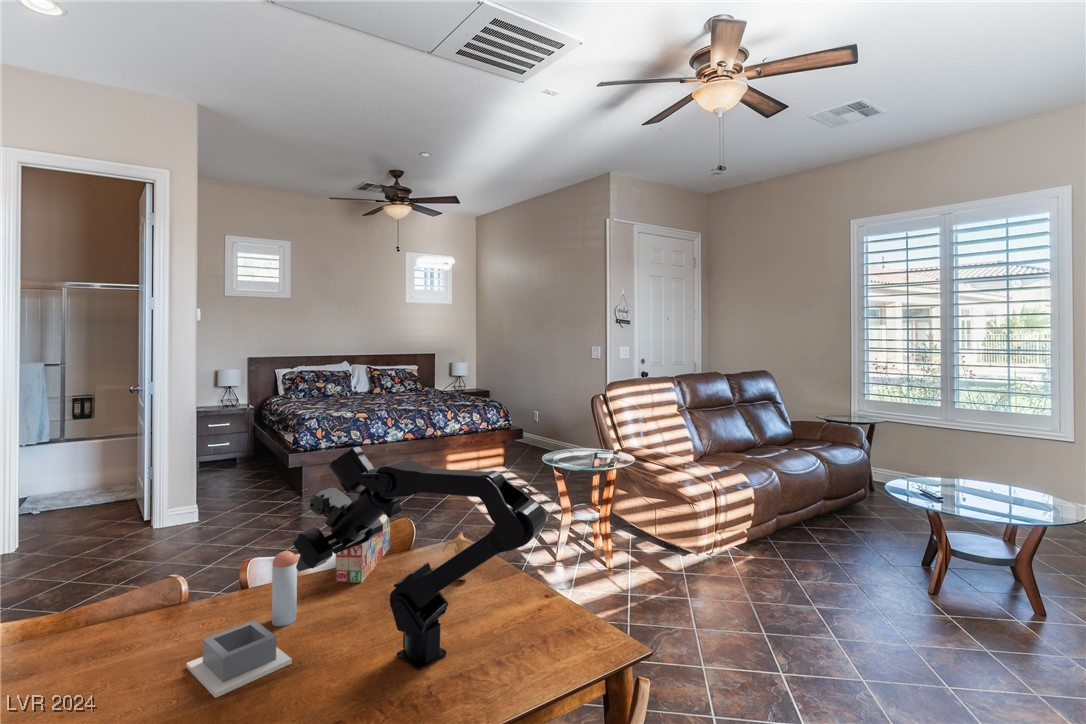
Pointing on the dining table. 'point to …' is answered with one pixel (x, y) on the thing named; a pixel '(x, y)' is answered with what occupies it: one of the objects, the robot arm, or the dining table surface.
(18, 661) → the dining table surface
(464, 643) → the dining table surface
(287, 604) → the copper-capped grey cylinder
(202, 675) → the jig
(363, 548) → the stack of blocks
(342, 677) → the dining table surface
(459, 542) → the figurine
